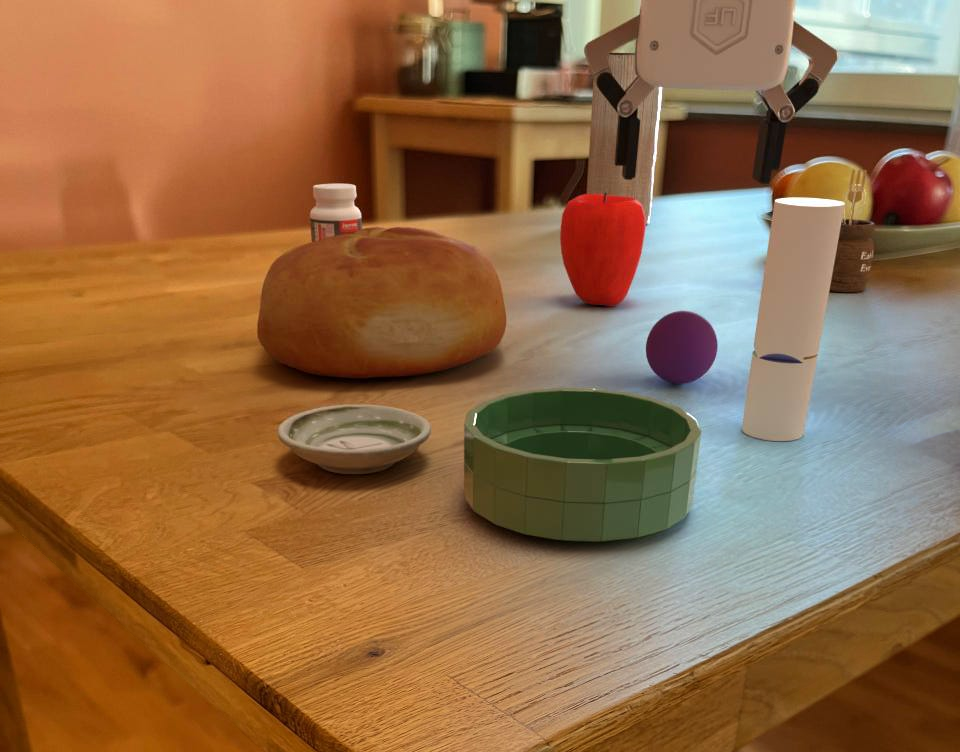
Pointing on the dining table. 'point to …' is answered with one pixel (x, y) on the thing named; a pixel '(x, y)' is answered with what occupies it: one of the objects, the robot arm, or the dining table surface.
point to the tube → (791, 316)
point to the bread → (381, 304)
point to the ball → (681, 347)
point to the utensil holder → (853, 246)
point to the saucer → (354, 436)
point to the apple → (602, 246)
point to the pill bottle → (334, 211)
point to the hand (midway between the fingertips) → (694, 179)
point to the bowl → (580, 463)
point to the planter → (605, 134)
